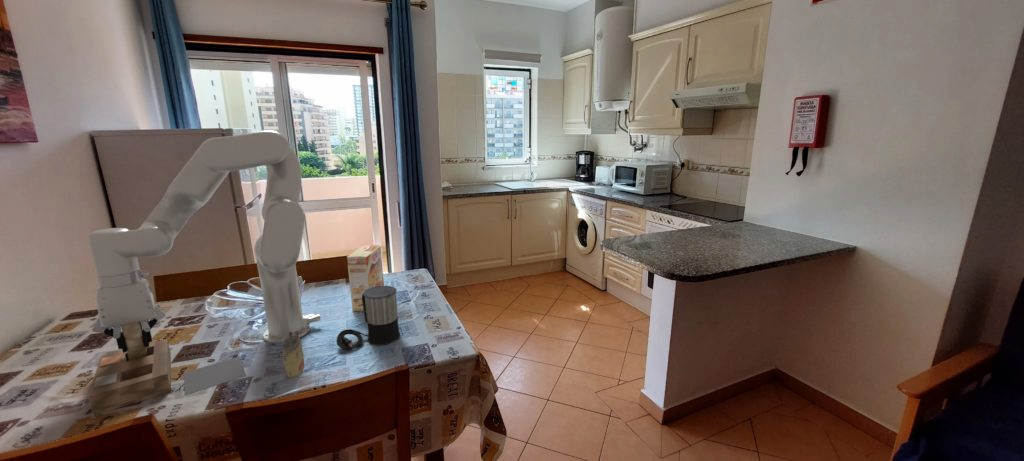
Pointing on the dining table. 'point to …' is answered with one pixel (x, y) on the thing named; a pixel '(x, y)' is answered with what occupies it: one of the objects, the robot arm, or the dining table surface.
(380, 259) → the coffeecake box
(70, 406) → the dining table surface
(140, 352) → the peg
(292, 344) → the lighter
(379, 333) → the milk frother
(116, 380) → the socket block
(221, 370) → the mat
